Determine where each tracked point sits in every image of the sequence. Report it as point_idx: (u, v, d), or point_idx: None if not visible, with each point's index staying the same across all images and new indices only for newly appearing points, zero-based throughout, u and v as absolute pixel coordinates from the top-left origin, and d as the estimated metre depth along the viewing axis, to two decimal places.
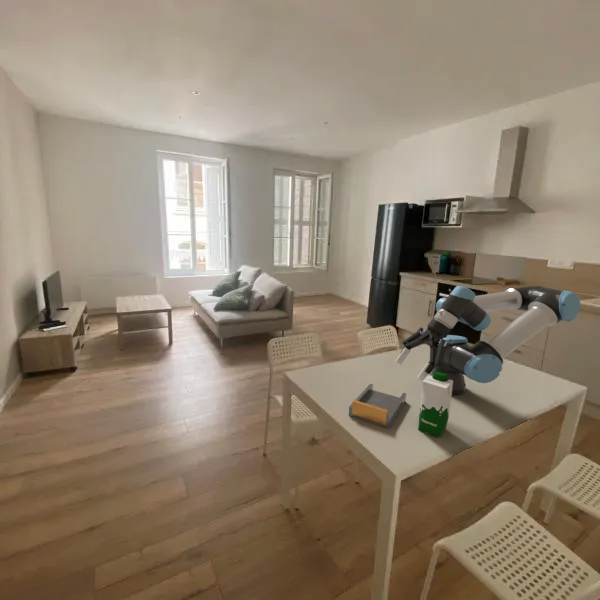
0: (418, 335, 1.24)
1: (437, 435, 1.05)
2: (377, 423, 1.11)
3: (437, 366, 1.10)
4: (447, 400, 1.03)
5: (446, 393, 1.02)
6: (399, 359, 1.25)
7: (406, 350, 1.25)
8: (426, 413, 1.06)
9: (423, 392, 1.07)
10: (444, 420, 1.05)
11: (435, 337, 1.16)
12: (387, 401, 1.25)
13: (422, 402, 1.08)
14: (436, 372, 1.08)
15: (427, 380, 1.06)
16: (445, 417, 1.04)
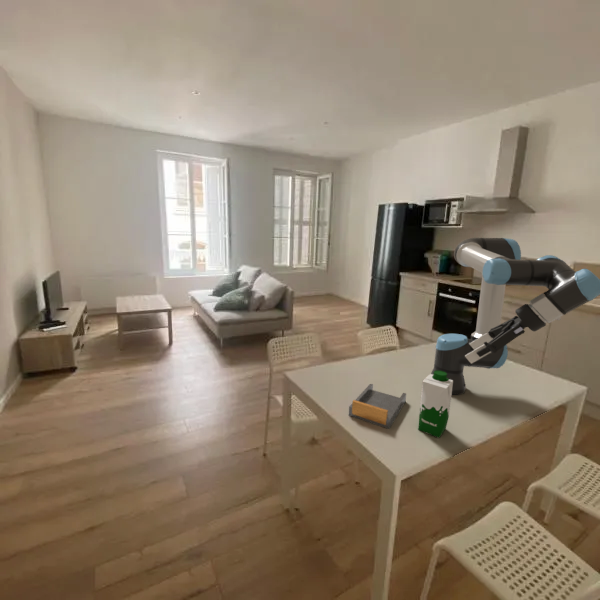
0: None
1: (437, 435, 1.05)
2: (377, 423, 1.11)
3: None
4: (447, 400, 1.03)
5: (446, 393, 1.02)
6: None
7: None
8: (425, 413, 1.06)
9: (423, 392, 1.07)
10: (444, 420, 1.05)
11: None
12: (387, 401, 1.25)
13: (422, 402, 1.08)
14: (436, 372, 1.08)
15: (427, 380, 1.06)
16: (445, 417, 1.04)
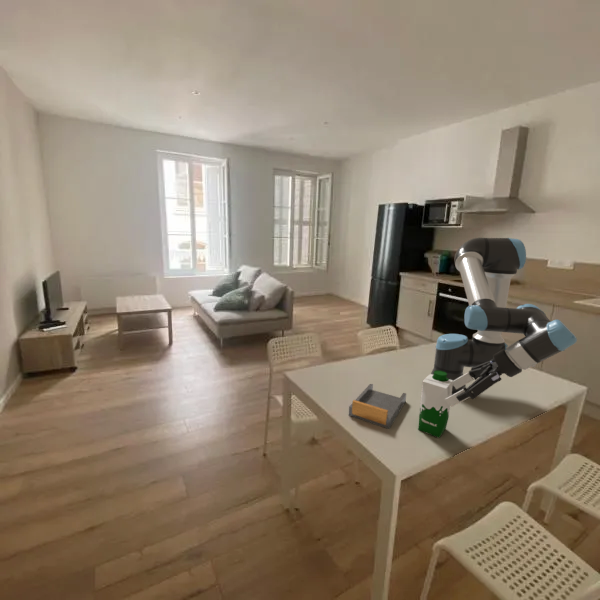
0: None
1: (437, 435, 1.05)
2: (377, 423, 1.11)
3: None
4: None
5: (446, 393, 1.02)
6: None
7: None
8: (425, 413, 1.06)
9: (423, 392, 1.07)
10: (444, 420, 1.05)
11: None
12: (387, 401, 1.25)
13: (422, 402, 1.08)
14: (436, 372, 1.08)
15: (427, 380, 1.06)
16: (445, 417, 1.04)
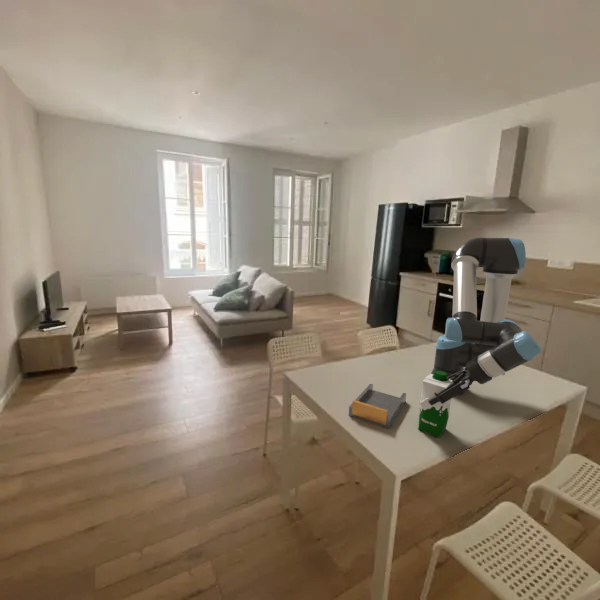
0: None
1: (437, 435, 1.05)
2: (377, 423, 1.11)
3: None
4: None
5: None
6: None
7: None
8: (426, 412, 1.06)
9: (423, 392, 1.07)
10: (444, 420, 1.05)
11: None
12: (387, 401, 1.25)
13: None
14: (436, 372, 1.08)
15: (427, 380, 1.07)
16: (445, 417, 1.04)
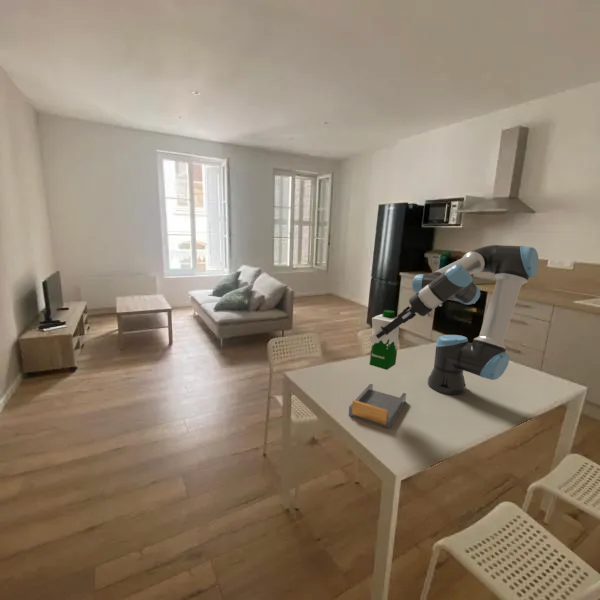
0: None
1: (385, 367, 1.14)
2: (377, 423, 1.11)
3: None
4: (393, 334, 1.12)
5: None
6: None
7: None
8: (375, 347, 1.15)
9: (373, 328, 1.16)
10: (391, 353, 1.14)
11: None
12: (387, 401, 1.25)
13: None
14: (385, 311, 1.17)
15: (376, 317, 1.15)
16: (392, 350, 1.13)
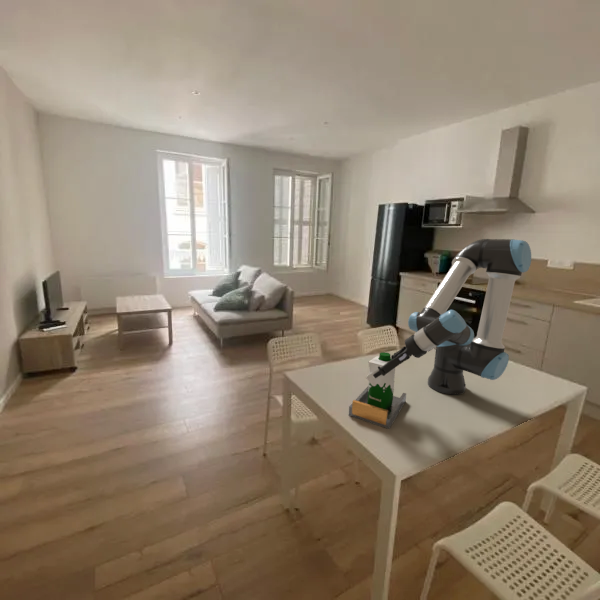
0: None
1: None
2: (377, 423, 1.11)
3: None
4: (389, 377, 1.16)
5: None
6: None
7: None
8: (372, 390, 1.18)
9: (369, 371, 1.19)
10: (388, 396, 1.17)
11: None
12: None
13: None
14: (381, 353, 1.21)
15: (372, 360, 1.19)
16: (388, 393, 1.17)
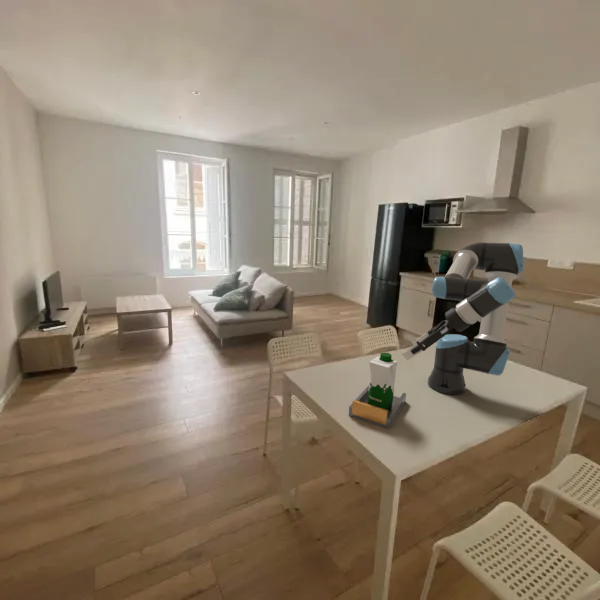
0: None
1: None
2: (377, 423, 1.11)
3: None
4: (390, 378, 1.16)
5: (389, 372, 1.15)
6: None
7: None
8: (372, 390, 1.18)
9: (370, 372, 1.19)
10: (388, 396, 1.17)
11: None
12: None
13: (370, 381, 1.20)
14: (382, 354, 1.20)
15: (373, 361, 1.19)
16: (388, 393, 1.17)
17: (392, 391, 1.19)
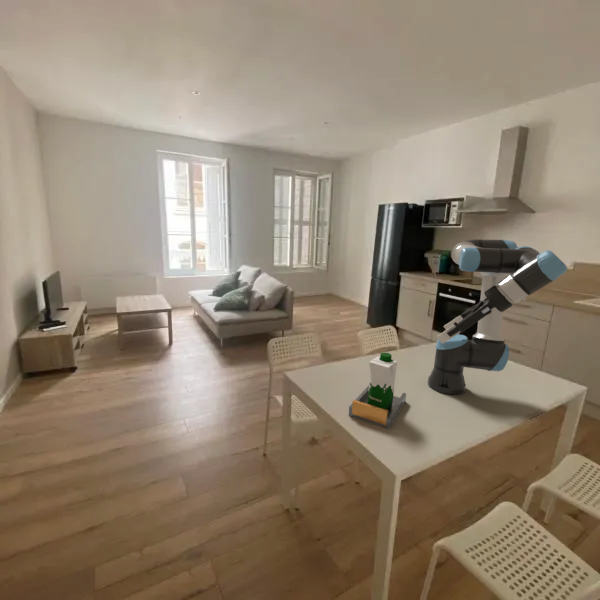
0: None
1: None
2: (377, 423, 1.11)
3: None
4: (390, 378, 1.16)
5: (389, 372, 1.15)
6: None
7: None
8: (372, 390, 1.18)
9: (370, 372, 1.19)
10: (388, 396, 1.17)
11: None
12: None
13: (370, 381, 1.20)
14: (382, 354, 1.20)
15: (373, 361, 1.19)
16: (388, 393, 1.17)
17: (392, 391, 1.19)
